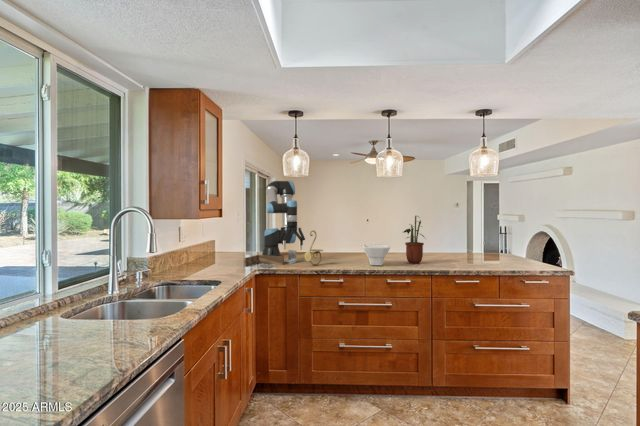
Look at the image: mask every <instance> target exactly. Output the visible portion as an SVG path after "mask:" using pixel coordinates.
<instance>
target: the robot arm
mask: <svg viewBox="0 0 640 426" xmlns="http://www.w3.org/2000/svg"><path fill="white" fill-rule="evenodd" d="M265 193H266V195H267V202H268V203H267V204H266V214H281V215H282V216H281V217H282V220H281V221H282V222H281V223H282V226H281V227H280V229H279V227H276V228H275V227H273V228H269V229H268V228H267V229H265V230H264V235H263V236H264V237H263V238H264V245H263V246H264V247H263V251H262V254H261V255H269V256H282V255H281V251H280V247H279V245H282V250H286V244H289V245H290V244H295V242H296V239H297V238H298V240H299V242H298V245H299V246H298V248H299V249H298V250H300V251H302V250H303V244H304V241H305V240H306V237H305V236H304V233H303V231H302V227H298V202H297V200H293V199H292V198H293V197H294V195H296V188H295V183H294V181H292V180H273V181H271V182H270V183H269V184H267V186H266V188H265ZM278 195H279V197H280V198H281V203H279V200H278Z"/></svg>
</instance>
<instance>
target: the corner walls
mask: <svg viewBox="0 0 640 426" xmlns="http://www.w3.org/2000/svg"><path fill="white" fill-rule="evenodd" d="M284 262H285V257H284V256H282V255H281V256H269V255H262V254H256V255H250V256H248V257H247V256H246V257H244V258H243V267H244V266H246V267H249V266H248V265H250V266H253V265H252V264H254V265H257V264H256V263H258V264H262V263H265V264H264V265H277V264H278V266H283V265H285V264H284Z"/></svg>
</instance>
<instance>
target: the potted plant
mask: <svg viewBox="0 0 640 426" xmlns="http://www.w3.org/2000/svg"><path fill="white" fill-rule="evenodd" d="M417 218H419V221H417ZM417 222H418V224H417ZM421 223H422V221H421V217H420V216H419V215H414V226H413V224H411V223H409V225H410V228H407V229H405V230H404V231H402V233H407V235H409V233H410V236H407V237H406V239H408V238H409V239H410V240H409V241H407V242H405V243H404V244H405V248H406V249H405V253H406V255H405V256H406V260H407V262H408V263H409V264H411V263H412V264H413V265H418V264H420V263H421V262H422V260H423V255H424V254H423V253H424V249H423V248H424V244H425V243H424V242H419V241H418V238H419V235H420V236H422V237H423V238H424V239H426V237H425V236H424V235H423V234H422V233H419V231H420V227H422V228H423V226H422V225H421ZM417 225H418V226H417Z"/></svg>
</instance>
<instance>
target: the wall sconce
mask: <svg viewBox="0 0 640 426" xmlns="http://www.w3.org/2000/svg"><path fill="white" fill-rule="evenodd" d="M312 233H314V234H312ZM309 235H310V237H313V236H314V239H313V240H312V243H311V244H310V247H309V251H306V252H305V253H304V260H306V262H309V263H310V264H311V265H312V266H317V265H319V264H320V263H321V261H322V254H321V252H324V251H325V250H324V249H321V248H320V249H318V248H317V249H316V248H314V249H312V248H313V245H314V243H315V241H316V239H317V232H316V231H315V230H311V231H310V232H309ZM311 252H314V253H311ZM318 254H319V260H318V262H316V263H313V262H312V258H313V259H317V257H318Z"/></svg>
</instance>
